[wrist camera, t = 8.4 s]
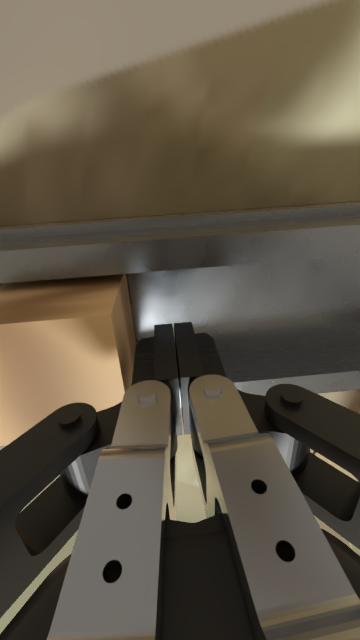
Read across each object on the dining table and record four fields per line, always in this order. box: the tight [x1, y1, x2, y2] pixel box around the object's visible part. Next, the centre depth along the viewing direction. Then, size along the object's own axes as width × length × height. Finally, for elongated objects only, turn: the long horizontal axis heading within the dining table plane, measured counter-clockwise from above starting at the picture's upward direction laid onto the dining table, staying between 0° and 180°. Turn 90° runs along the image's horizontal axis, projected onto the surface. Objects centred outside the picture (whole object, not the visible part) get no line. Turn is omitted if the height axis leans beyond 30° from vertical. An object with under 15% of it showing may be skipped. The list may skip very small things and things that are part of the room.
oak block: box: [0, 274, 136, 446], centre depth 12 cm, size 5×5×5 cm
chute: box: [0, 202, 360, 407], centre depth 14 cm, size 22×9×4 cm, turn 93°
